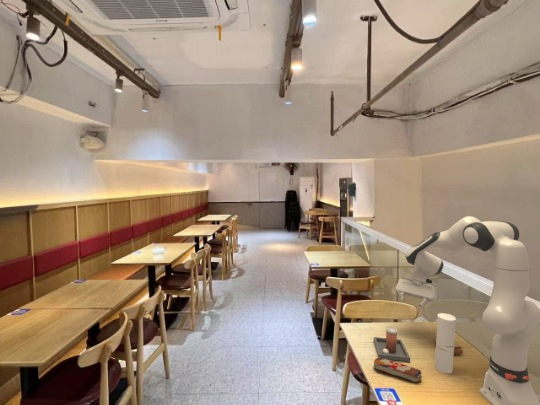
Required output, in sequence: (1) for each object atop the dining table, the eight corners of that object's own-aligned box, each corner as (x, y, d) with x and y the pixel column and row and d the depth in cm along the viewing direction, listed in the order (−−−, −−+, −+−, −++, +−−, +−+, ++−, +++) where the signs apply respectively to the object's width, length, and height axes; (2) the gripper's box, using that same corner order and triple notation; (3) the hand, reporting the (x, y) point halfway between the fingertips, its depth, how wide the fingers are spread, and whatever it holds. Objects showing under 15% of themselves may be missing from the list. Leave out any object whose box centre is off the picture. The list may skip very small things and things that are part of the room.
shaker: (397, 353, 148) (398, 332, 146) (386, 352, 148) (387, 331, 147) (395, 347, 153) (395, 327, 152) (384, 346, 153) (385, 326, 152)
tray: (410, 362, 142) (410, 357, 141) (379, 359, 144) (379, 354, 144) (401, 344, 157) (401, 339, 157) (373, 341, 160) (373, 337, 159)
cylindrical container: (455, 374, 133) (458, 321, 131) (437, 372, 135) (440, 319, 132) (448, 364, 140) (452, 313, 138) (432, 362, 141) (435, 312, 139)
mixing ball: (389, 356, 145) (389, 351, 145) (382, 356, 145) (383, 350, 145) (387, 353, 148) (388, 347, 148) (381, 352, 148) (381, 347, 148)
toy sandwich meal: (456, 343, 159) (456, 334, 158) (466, 358, 146) (467, 348, 145) (430, 340, 162) (430, 331, 161) (438, 354, 149) (438, 345, 148)
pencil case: (380, 359, 144) (381, 349, 144) (424, 378, 131) (424, 367, 131) (370, 370, 136) (371, 360, 136) (416, 391, 123) (417, 380, 122)
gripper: (398, 273, 169) (390, 295, 163) (437, 282, 154) (430, 306, 148) (401, 279, 172) (393, 300, 166) (440, 288, 157) (433, 312, 151)
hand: (411, 303), depth 157 cm, fingers open, 8 cm apart
